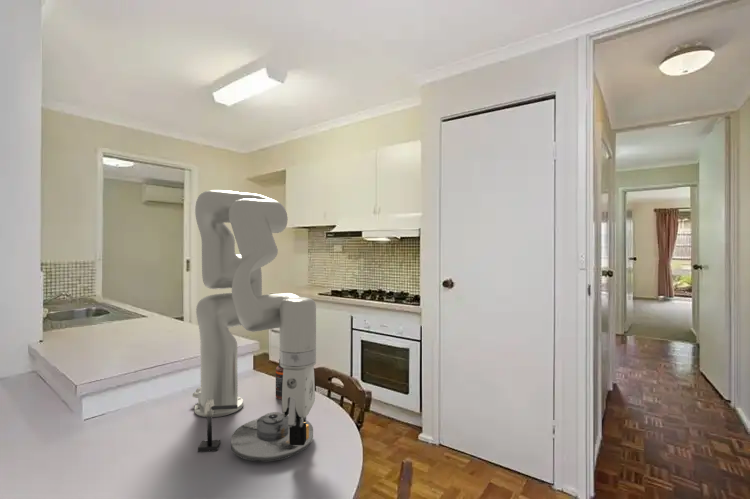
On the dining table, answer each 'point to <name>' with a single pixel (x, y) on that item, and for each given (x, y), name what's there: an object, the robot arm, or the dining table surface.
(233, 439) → the turntable
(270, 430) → the cover
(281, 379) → the supplement bottle
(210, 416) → the stand
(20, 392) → the dining table surface
